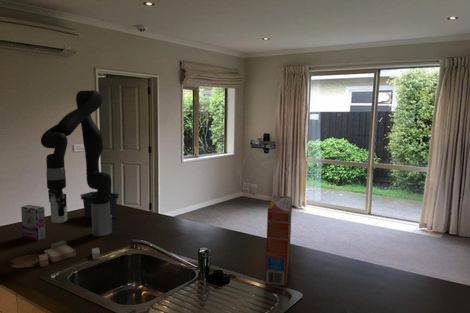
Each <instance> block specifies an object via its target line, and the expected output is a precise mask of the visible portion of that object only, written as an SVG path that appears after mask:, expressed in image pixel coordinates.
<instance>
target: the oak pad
mask: <svg viewBox="0 0 470 313" xmlns="http://www.w3.org/2000/svg"><path fill="white" fill-rule="evenodd" d="M44 254H47V256H48V258H49V259H50V260H51V263H56V262H60V261H64V260H67V259H71V258H73V257H77V250H76V249H74V248H72V247H71V246H69V245H67V244H66V245H63V246H60V247H56V248H52V249H51V248H49V249H45V250H43V255H44ZM49 259H48V260H49ZM50 260H49V261H50Z"/></svg>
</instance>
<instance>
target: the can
mask: <svg viewBox="0 0 470 313" xmlns="http://www.w3.org/2000/svg"><path fill="white" fill-rule="evenodd" d="M57 201H59V199H57ZM49 204H50V206H49V207H50V220H51V223H52V224H61V223H64V222H65V223H66V222H67V221H68V208H67V207H68V205H67V204H68V203H67V201H66V207H64V216H58V206H57V204H56V200H55V197H53V196H51V198H50V202H49Z"/></svg>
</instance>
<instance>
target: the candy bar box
mask: <svg viewBox="0 0 470 313" xmlns="http://www.w3.org/2000/svg"><path fill="white" fill-rule="evenodd" d="M45 218H46V215H45V206H39V205H32V204H27V205H23V206H21V225H22V226H21V228H22V238H23V239H29V240H34V241H40V240H44V239H46V238H47V235H46V234H47V233H46V219H45Z"/></svg>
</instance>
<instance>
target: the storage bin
mask: <svg viewBox="0 0 470 313" xmlns="http://www.w3.org/2000/svg"><path fill="white" fill-rule="evenodd" d="M96 195H97V191H96V190H95V191H89V192H87V193H86V192H85V193H82V194H80V195H79V196H80V200H82V203H83V210H84V218H86V219H87V218H88V219H92V213H91V198H92V197H93V196H96ZM119 195H120V194H119V193H115V192H111V197H110V215H111V216H112V219H113V218H115V217H116V216H117V200H118V199H119V198H120V197H119Z"/></svg>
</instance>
